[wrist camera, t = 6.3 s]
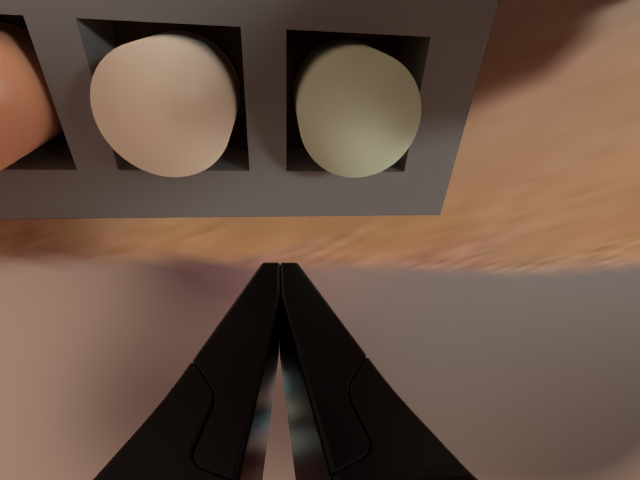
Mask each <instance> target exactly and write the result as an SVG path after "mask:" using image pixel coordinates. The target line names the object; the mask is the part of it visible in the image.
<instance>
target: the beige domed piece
mask: <svg viewBox="0 0 640 480" xmlns="http://www.w3.org/2000/svg"><path fill="white" fill-rule="evenodd" d="M240 99H241V91H240V84H239V80H238V76H237V74H236V71H235V69H234V67H233V65H232V63H231V62H230V60H229V59H228V57H227V56H226V55H225V54H224V52H223V51H222V50H221V49H220V48H219V47H218V46H217V45H215V44H214V43H213V42H211V41H210V40H208V39H206V38H205V37H203V36H201V35H198V34H196V33H192V32H189V31H182V30H172V31H166V32H163V33H159V34H156V35H153V36H149V37H146V38H142V39H139V40H136V41H132V42H129V43H126V44H123V45H121V46H119V47H117V48H115V49H113V50H112V51H111V52H109V53H108V54H107V55H106V56H105V57H104V58H103V59H102V60H101V62H100V63H99V65H98V66H97V68H96V70H95V72H94V75H93V77H92V82H91V86H90V102H91V108H92V113H93V116H94V119H95V122H96V124H97V126H98V128H99V130H100V132H101V133H102V135H103V137H104V138H105V140H106V141H107V142H108V143H109V145H110V146H111V147H112V148H113V149H114V150H115V151H116V152H117V153H118V154H119V155H120V156H121V157H123V158H124V159H125V160H126V161H128V162H129V163H131V164H132V165H134V166H136V167H138V168H140V169H142V170H144V171H147V172H149V173H152V174H156V175H159V176H165V177H185V176H191V175H194V174H197V173H200V172H202V171H204V170H206V169H207V168H209V167H210V166H212V165H213V164H214V163H215V162H216V161H217V160H218V159H219V158H220V156H221V155H222V154H223V152H224V150H225V149H226V146H227V144H228V142H229V138H230V135H231V132H232V129H233V126H234V122H235V119H236V116H237V113H238V110H239V106H240Z"/></svg>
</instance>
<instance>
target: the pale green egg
mask: <svg viewBox="0 0 640 480" xmlns="http://www.w3.org/2000/svg"><path fill="white" fill-rule="evenodd" d="M293 100H294V105H295V110H296V115H297V120H298V125H299V130H300V135H301V138H302V141H303V144H304V146H305V148H306V150H307V152H308V153H309V155H310V156H311V157H312V159H313V160H314V161H315V162H316V163H317V164H318V165H319V166H321V167H322V168H324V169H325V170H327V171H329V172H331V173H333V174H335V175H338V176H343V177H349V178H359V177H366V176H371V175H374V174H377V173H379V172H381V171H383V170H385V169H387V168H388V167H390V166H391V165H393V164H394V163H395V162H397V161H398V160H399V159H400V158H401V157H402V156H403V155H404V153H405V152H406V151H407V150H408V148H409V147H410V145H411V144H412V142H413V140H414V138H415V136H416V133H417V131H418V127H419V124H420V118H421V98H420V93H419V89H418V87H417V84H416V82H415V80H414V78H413V76H412V75H411V73H410V72H409V71H408V70H407V68H406V67H405V66H404V65H402V64H401V63H400V62H399V61H397V60H396V59H394V58H393V57H391V56H389V55H387V54H385V53H382V52H380V51H378V50H376V49H374V48H372V47H370V46H368V45H366V44H364V43H362V42H359V41H356V40H352V39H336V40H332V41H329V42H326V43H324V44H322V45H320V46H318V47H317V48H315V49H314V50H313V51H312V52H311V53H310V54H309V55H308V56H307V57H306V58H305V59H304V61H303V62H302V64H301V65H300V67H299V70H298V72H297V74H296V77H295V81H294V87H293Z"/></svg>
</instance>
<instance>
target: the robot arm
mask: <svg viewBox="0 0 640 480" xmlns="http://www.w3.org/2000/svg"><path fill="white" fill-rule="evenodd" d="M279 348H280V361H281V369H282V377H283V385H284V392H285V400H286V408H287V416H288V424H289V431H290V439H291V447H292V455H293V462H294V470H295V478H296V480H478V479H477V478H476V477H474V476H473V475H472V474H471V473H470V472H469V471H468V470H467V469H466V468H465V467H464V466H463V465H462V464H461V463H460V461H458V459H457V458H456V457H455V456H454V455H453V454H452V453H451V452H450V451H449V450H448V449H447V448H446V447H445V445H444V444H443V443H442V442H441V441H440V440H439V439H438V438H437V437H436V436H435V435H434V434H433V433H432V432H431V431H430V429H429V428H428V427H427V426H426V425H425V424H424V423H423V422H422V421H421V420H420V419H419V418H418V417H417V416H416V415H415V413H414V412H413V411H412V410H411V409H410V408H409V407H408V406H407V405H406V404H405V402H404V401H403V400H402V399H401V398H400V397H399V396H398V395H397V394H396V392H395V391H394V390H393V389H392V388H391V386H390V385H389V384H388V383H387V381H386V380H385V379H384V378H383V377H382V375H381V374H380V373H379V371H378V370H377V369H376V367H375V366H374V365H373V363H372V362H371V361H370V359H369V358H366V354H365V353H364V351H363V350H362V349H361V347H360V346H359V345H358V343H357V342H356V341H355V339H354V338H353V337H352V335H351V334H350V333H349V331H348V330H347V329H346V328H345V326H344V325H343V324H342V322H341V321H340V319H339V318H338V317H337V315H336V314H335V313H334V312H333V310H332V309H331V307H330V306H329V305H328V303H327V302H326V301H325V299H324V298H323V297H322V295H321V294H320V293H319V291H318V290H317V289H316V287H315V286H314V285H313V283H312V282H311V281H310V279H309V278H308V277H307V275H306V274H305V273H304V271H303V270H302V269H301V267H300V266H299V265H298V264H297V263H281V265H280V264H279V263H263V264H262V265H261V266H260V267H259V269H258V270H257V271H256V273H255V274H254V276H253V277H252V278H251V280H250V281H249V283H248V284H247V285H246V287H245V288H244V290H243V291H242V293H241V294H240V295H239V297H238V298H237V299H236V301H235V302H234V304H233V305H232V307H231V308H230V309H229V311H228V312H227V314H226V315H225V316H224V318H223V319H222V320H221V322H220V323H219V325H218V326H217V327H216V329H215V330H214V332H213V333H212V334H211V336H210V337H209V339H208V340H207V342H206V343H205V344H204V346H203V347H202V349H201V350H200V351H199V353H198V354H197V356H196V357H195V358H194V360H193V363H191V364H190V365H189V366H188V368H187V369H186V370H185V372H184V373H183V375H182V376H181V377H180V379H179V380H178V381H177V383H176V384H175V385H174V387H173V388H172V389H171V391H170V392H169V393H168V395H167V396H166V397H165V398H164V400H163V401H162V402H161V403H160V405H159V406H158V407H157V408H156V409H155V410H154V412H153V413H152V414H151V415H150V416H149V417H148V419H147V420H146V421H145V422H144V423H143V424H142V426H141V427H140V428H139V429H138V430H137V431H136V432H135V434H134V435H133V436H132V437H131V438H130V439H129V440H128V441H127V442H126V443H125V445H124V446H123V447H122V448H121V449H120V450H119V451H118V452H117V454H116V455H115V456H114V457H113V458H112V459H111V460H110V461H109V462H108V464H107V465H106V466H105V467H104V468H103V469H102V471H100V472H99V474H98V475H97V476H96V477H95V478H94V479H93V480H262V479H263V471H264V464H265V455H266V448H267V441H268V433H269V426H270V418H271V410H272V403H273V395H274V387H275V380H276V372H277V365H278V356H279Z"/></svg>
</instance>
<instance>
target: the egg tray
mask: <svg viewBox="0 0 640 480" xmlns="http://www.w3.org/2000/svg"><path fill="white" fill-rule="evenodd" d="M498 3H499V0H0V14H8V15H23V17H24V20H25V22H26V25H27V28H28V31H29V34H30V37H31V40H32V42H33V45H34V48H35V51H36V54H37V57H38V60H39V63H40V65H41V68H42V71H43V74H44V77H45V80H46V83H47V85H48V88H49V91H50V94H51V97H52V100H53V103H54V105H55V108H56V111H57V114H58V117H59V120H60V123H61V126H62V128H63V131H64V134H65V137H66V140H67V143H68V145H41V146H39V147H38V148H36V149H35V150H33V151H31V152H30V153H28V154H27V155H25V156H24V157H22V158H20V159H19V160H17V161H16V162H14V163H12V164H11V165H9V166H8V167H6V168H4V169H3V170H1V171H0V219H62V218H167V217H273V216H378V215H440V213H441V210H442V206H443V202H444V199H445V195H446V191H447V188H448V184H449V181H450V177H451V173H452V170H453V166H454V163H455V159H456V155H457V152H458V148H459V144H460V141H461V137H462V134H463V130H464V126H465V123H466V119H467V115H468V112H469V108H470V105H471V101H472V97H473V94H474V90H475V86H476V83H477V79H478V76H479V72H480V68H481V65H482V61H483V57H484V54H485V50H486V47H487V43H488V39H489V36H490V32H491V28H492V25H493V21H494V18H495V14H496V10H497V7H498ZM111 20H121V21H140V22H159V23H177V24H196V25H215V26H234V27H241V41H242V57H243V74H244V90H245V106H246V122H247V138H248V147H226V149H225V150H224V152H223V154H222V155H221V156H220V158H219V159H218V160H217V161H216V162H215V163H214V164H213V165H212V166H210V167H209V168H207V169H206V170H204V171H202V172H200V173H197V174H194V175H191V176H185V177H165V176H159V175H156V174H152V173H149V172H147V171H144V170H142V169H140V168H138V167H136V166H134V165H132V164H131V163H129V162H128V161H126V160H125V159H124V158H123V157H121V156H120V155H119V154H118V153H117V152H116V151H115V150H114V149H113V148H112V147H111V146H110V145H109V143H108V142H107V141H106V140H105V138H104V137H103V135H102V133H101V132H100V130H99V128H98V126H97V124H96V122H95V119H94V116H93V113H92V108H91V102H90V86H91V82H92V77H93V75H94V72H95V70H96V68H97V66H98V65H99V63H100V62H101V60H102V59H103V58H104V57H105V56H106V55H107V54H108V53H109V52H111V51H112V50H113V49H115V48H117V44H116V40H115V36H114V32H113V27H112V23H111ZM286 29H290V30H309V31H328V32H347V33H366V34H384V35H403V36H405V42H404V48H403V54H402V60H401V64H402V65H404V66H405V67H406V68H407V70H408V71H409V72H410V73H411V75H412V76H413V78H414V80H415V82H416V84H417V87H418V89H419V93H420V98H421V118H420V124H419V127H418V131H417V133H416V136H415V138H414V140H413V142H412V144H411V145H410V147H409V148H408V150H407V151H406V152H405V153H404V155H403V156H402V157H401V158H400V159H399V160H398V161H397V162H395V163H394V164H393V165H391V166H390V167H388V168H387V169H385V170H383V171H381V172H379V173H377V174H374V175H371V176H366V177H359V178H349V177H343V176H338V175H335V174H333V173H331V172H329V171H327V170H325V169H324V168H322V167H321V166H319V165H318V164H317V163H316V162H315V161H314V160H313V159H312V157H311V156H310V155H309V153H308V152H307V150H306V148H286Z"/></svg>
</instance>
